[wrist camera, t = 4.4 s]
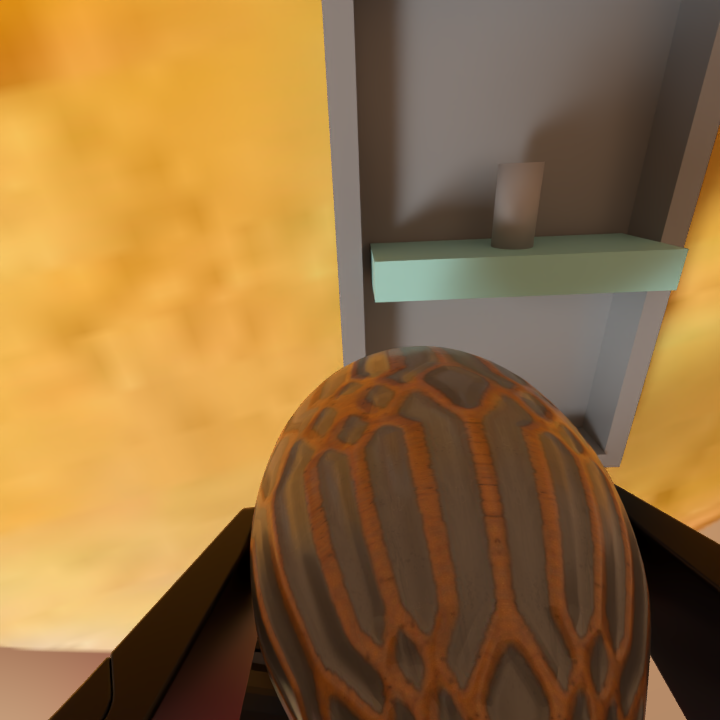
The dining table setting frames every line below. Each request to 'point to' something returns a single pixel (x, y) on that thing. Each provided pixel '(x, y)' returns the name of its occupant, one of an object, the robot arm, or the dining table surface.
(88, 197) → the dining table surface
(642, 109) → the gray rectangular tray
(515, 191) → the pusher
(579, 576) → the vase
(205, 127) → the dining table surface
